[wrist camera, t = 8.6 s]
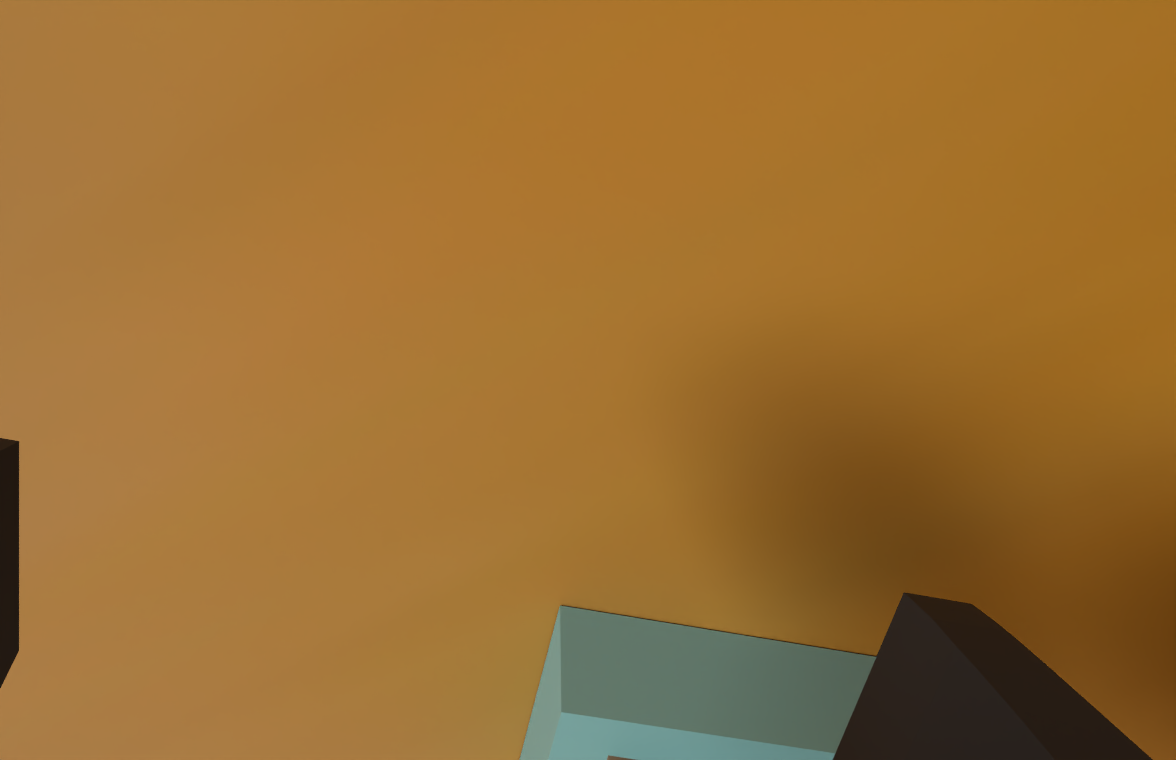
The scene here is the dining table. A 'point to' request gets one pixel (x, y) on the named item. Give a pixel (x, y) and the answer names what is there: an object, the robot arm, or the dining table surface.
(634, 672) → the teal plinth
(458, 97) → the dining table surface
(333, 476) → the dining table surface
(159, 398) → the dining table surface
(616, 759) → the walnut cube
